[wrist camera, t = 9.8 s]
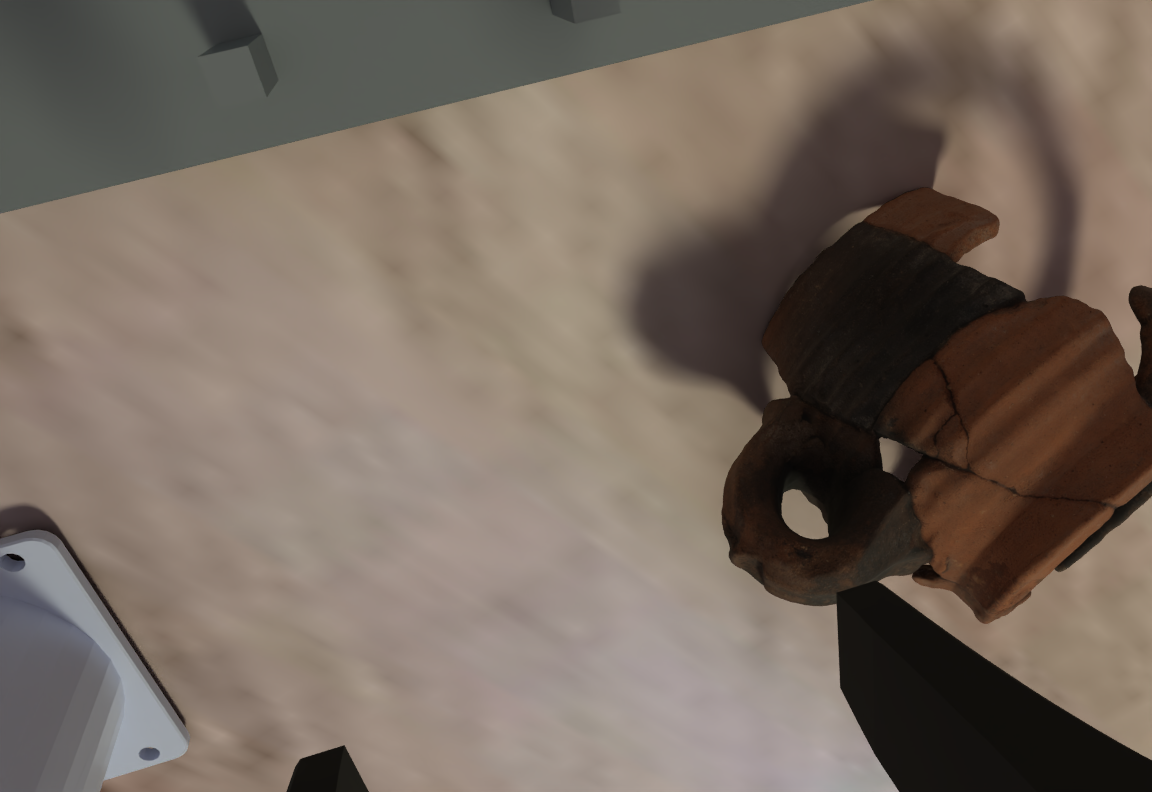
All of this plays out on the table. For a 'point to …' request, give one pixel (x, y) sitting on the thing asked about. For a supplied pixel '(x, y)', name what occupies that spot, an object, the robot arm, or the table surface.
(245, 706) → the table surface
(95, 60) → the miniature lathe model
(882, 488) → the pottery mug
